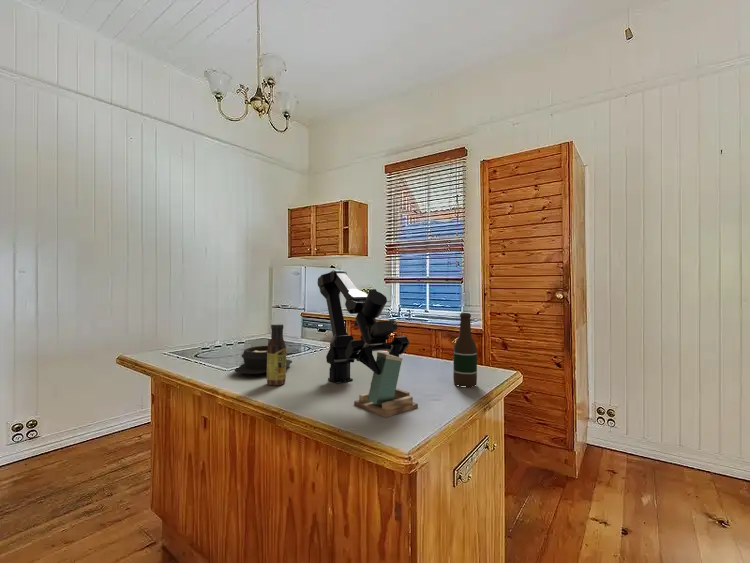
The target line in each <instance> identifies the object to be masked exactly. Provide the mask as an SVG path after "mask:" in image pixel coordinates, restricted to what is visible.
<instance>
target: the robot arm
mask: <svg viewBox="0 0 750 563" xmlns="http://www.w3.org/2000/svg"><path fill="white" fill-rule="evenodd" d="M317 287H318V288H319V292H320V294H321V295H322V296H323V298H324V299H325V300H326V305H327V311H328V316H329V322H330V327H331V332H332V338H331V340H330V343H329V350H328V352H327V354H326V356H325V357H326V358H325V359H326V363H327V364H329V365H330V367H329V373H328V374H329V376H328V378H327V380H329V381H330V382H333V383H336V384H341V383H347V382H349V381H350V382H351V381H353V380H354V378H352V377H351V363H355V361H356V362H360V363H361V364H363V365H365V366H366V367H367V368H368V369H369V370H371V371H372V372H373V373H374V372H375V373H376V374H377V375H379V373H380V371H379V368H378V366H377V363H376V358H375V356H374V354H373V352H382V351H387V352H388V354H390V355H395V356H397V357H400V355H403V354H404V353H405V351H406V349H407V348H408V346H409V345H410V344H411V343H410V341H409V338H408V337H407V336H405V335H404V336H403V335H402V336H394V338H393V339H392V341H391V342H387V340H389V338H390V336H389V335H390V334H391V333H392V334H393V333H394V332H395V331H396V330H398V328H399V327H398V324H397V320H395V319H393V318H392V319H388V320H380V321H379V320H378V321H377V318H379V317H380V316H381V314H382V312H383V310H384V308H385V306H386V304H387V302H388V298H387V296H386V295H384V294H383V293H381V292H380V291H377V289H376V288H370V289H369V290H368V292H367V293H366V292H365V291H362V290H359V289H358V288H357V287H356V285H355V284H354V283H353V282H352V280H351V279H350V277H349V276H348V273H347V271H345V270H341V269H340V270H339V269H338V270H337V269H335V270H331V271H329V272H327V273H324V274H320V276H318V278H317ZM340 294H341V295H343V297H344V299H345V303H344V306H345V308H346V310H347V312H348V313H349V314H350V315H356V316H355V319H354V324H353V326H354V327H358V330H359V331H360V334H361V336H360V339H354V337H353V335H352V334H348V332H347V329H346V324H345V319H344V314H343V309H342V304H341V298H340Z"/></svg>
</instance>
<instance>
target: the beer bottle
mask: <svg viewBox="0 0 750 563" xmlns="http://www.w3.org/2000/svg"><path fill="white" fill-rule="evenodd" d="M459 317H460V321H459V322H460V323H459V333H458V337H457V339H456V340H455V343H454V345H453V369H452V370H453V377H452V378H453V383H454V385H455V386H456V385H459V386H466V387H472V386H475V385H476V386H477V382H478V381H477V380H478V349H477V345H476V342H475V341H474V339H473V337H472V326H471V324H472V323H471V317H472V314H471V313H469V312H461V313H460V314H459ZM459 386H458V387H459ZM476 386H475V387H476ZM472 388H473V387H472Z"/></svg>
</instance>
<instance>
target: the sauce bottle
mask: <svg viewBox="0 0 750 563" xmlns="http://www.w3.org/2000/svg"><path fill="white" fill-rule="evenodd" d="M270 329H271V336H270V337H271V338H270V340H269V342H268V343H267V346H268V352H267V374H266V384H267V385H268V386H281V385H284V384H285V383H286V378H287V368H286V359H287V355H286V352H287V345H286V342H285V340H284V324H282V323H273V324H271V325H270Z"/></svg>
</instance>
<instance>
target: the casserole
mask: <svg viewBox="0 0 750 563" xmlns="http://www.w3.org/2000/svg"><path fill="white" fill-rule="evenodd" d="M267 352H268V345H258V346H251V347H247V348H245V349H244V350H243V353H242V354H241V357H242V359H243V363H242V364H240V366H238V368H235V369H234V370H233V371H234V372H236V373H238V374H243V375H244V374H245V375H267ZM288 353H289V352H287V351H286V356H287V355H288ZM292 363H293V361H292V359H287V358H286V369H288V367H290V365H291V364H292Z"/></svg>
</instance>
